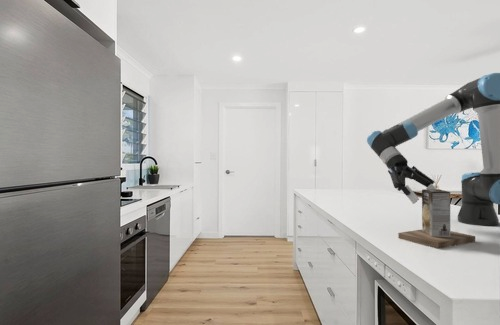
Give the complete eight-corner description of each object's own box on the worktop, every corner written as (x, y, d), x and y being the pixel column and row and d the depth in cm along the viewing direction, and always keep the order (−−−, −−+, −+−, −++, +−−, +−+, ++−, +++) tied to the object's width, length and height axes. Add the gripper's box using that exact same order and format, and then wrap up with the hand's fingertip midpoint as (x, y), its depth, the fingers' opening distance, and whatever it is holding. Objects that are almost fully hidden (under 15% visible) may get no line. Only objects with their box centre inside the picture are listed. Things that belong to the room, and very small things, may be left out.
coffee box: (421, 231, 112) (421, 189, 112) (439, 231, 111) (439, 189, 111) (431, 237, 103) (431, 191, 103) (451, 237, 102) (451, 191, 102)
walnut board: (434, 232, 117) (433, 227, 117) (475, 241, 104) (475, 236, 104) (398, 238, 110) (398, 232, 110) (438, 248, 96) (437, 242, 96)
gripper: (408, 165, 130) (443, 204, 116) (366, 166, 119) (398, 208, 106) (420, 153, 125) (457, 191, 111) (376, 153, 115) (412, 195, 101)
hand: (428, 200), depth 108 cm, fingers open, 13 cm apart
